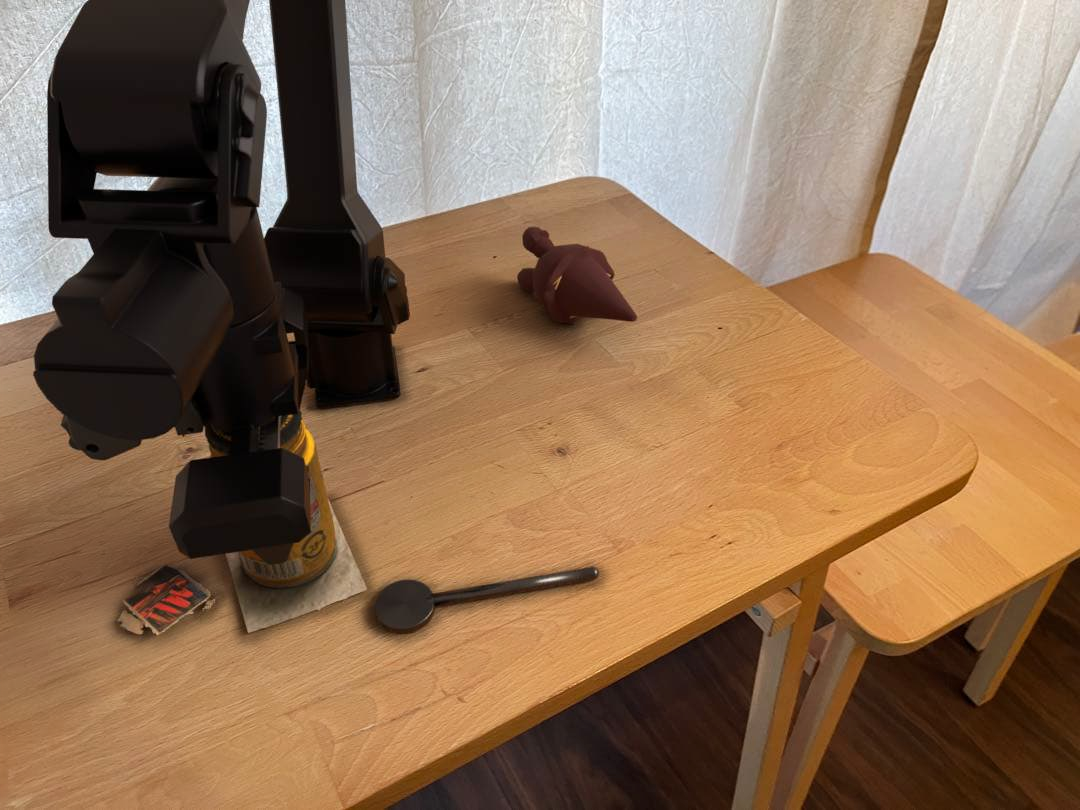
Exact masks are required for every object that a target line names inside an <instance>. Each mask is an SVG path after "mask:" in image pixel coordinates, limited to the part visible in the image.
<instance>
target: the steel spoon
mask: <svg viewBox="0 0 1080 810" xmlns="http://www.w3.org/2000/svg"><path fill="white" fill-rule="evenodd" d="M599 576H600V571H599V569H598V568H597V567H595V566H589V567H588V566H587V567H582V568H576V569H571V570H565V571H560V572H558V571H557V572H553V573H552V572H551V573H547V574H541V575H535V576H529V577H522V578H517V579H510V580H505V581H499V582H494V583H493V582H492V583H486V584H482V585H481V584H480V585H476V586H475V585H474V586H469V587H463V588H457V589H452V590H446V591H439V592H434V593H433V591H432V589H431V587H429V586H428V585H427V584H425V583H423V582H422V581H419V580H415V579H400V580H397V581H394V582H392V583H390V584H388V585H387V586H385V587H384V588H383V589H382V590H381V591H380V592H379V593H378V595H377V597H376V599H375V602H374V612H375V617H376V620H377V622H378V624H379V625H380V626H381V627H382V628H383V629H384V630H386V631H388V632H390V633H394V634H400V635H403V634H412V633H414V632H417V631H420V630H421V629H422V628H424V627H425V626H426V625H427V624H429V623H430V621H431V620H432V619H433V617H434V615H435V612H436V607H442V606H448V605H449V606H450V605H453V604H454V605H455V604H460V603H466V602H472V601H476V600H477V601H478V600H484V599H489V598H494V597H495V598H496V597H501V596H506V595H512V594H519V593H526V592H529V591H530V592H531V591H537V590H542V589H548V588H553V587H559V586H565V585H571V584H577V583H582V582H583V583H584V582H589V581H594V580H595V581H596V580H597V579H598V578H599Z"/></svg>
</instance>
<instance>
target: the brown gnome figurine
mask: <svg viewBox="0 0 1080 810" xmlns="http://www.w3.org/2000/svg"><path fill="white" fill-rule="evenodd" d="M521 238H522V246H523V247H524V249H525V250H527V251H528V252H529V253H531V254H533V255H534V256H535V257H536V258H537V262H536V264H535V267H523V268H522V269H521V270H520V271H519V272H518V273H517V276H516V278H517V283H518V285H519V286H521V287H522V288H523V289H524V290H526V291H527V292H530V293H534V296H535V299H536V301H537V302H538V304H540V305H541V307H543V308H544V309H545V310H546V311H547V312H548V313H549V316H550V318H551V320H553V321H555V322H560V323H565V324H570V325H575V324H577V323H578V322H580V321H581V320H582V319H585V318H589V319H600V320H601V319H602V320H612V321H621V322H636V321H637V319H638V315H637V314H636V312H635V310H634V309H633V307H632V306H631V305H630V303H629V302H628V301H627V300H626V298H625V297H624V295H623V293H622V292H621V291H620V289H619V288H618V287H617V286H616V284H615V283H614V281H613V279H614V277H615V271H614V269H613V268H612V266H611V265H610V263H609V262H608V259H607V256H606V255H605V253H604V252H603V251H602V250H599V249H595V248H592V247H590V246H588V245H584V244H580V243H568V244H560V245H555V244H554V242H553V241H552V240H551V238H550V233H549V231H547V230H546V229H541V228H540V227H539V226H528V227H526V229H525V230H524V231H523V233H522V235H521Z"/></svg>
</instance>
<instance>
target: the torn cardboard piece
mask: <svg viewBox="0 0 1080 810" xmlns="http://www.w3.org/2000/svg"><path fill="white" fill-rule="evenodd" d="M202 584H203V583H199V582H197V581H196V580H195V579H193V578H191V576H190V575H189V574H188V573H187V571H185V570H183V569H181V568H176V567H172V566H170V565H167V564H166V563H165V564H163V565H162V566H160V567H158V568H157V569H156V570H154V571H152V573H149V575H148V576H146V577H144V578H143V579H142V580H141V581H140V582H138V583H135V587H134V588H133V589H132V591H131V592H130V593H129V594H128V596H126V598H124V600H123V601H122V603H124V605H125V606H126V607H127V608H128V610H129V611H130V612H132V613H130V612H129V613H128V610H127V609H124V610H123V612H122V613H121V614H120V616H119V618H118V619H117V622H120V623H121V624H119V627H122V629H123V630H125V629H126V630H127V631H128V632H131V633H134V634H136V635H139V636H140V635H142V634H143V633H144V632H145V630H143V629H144V627H146V628H150V629H151V631H152V633H153V634H156V636H159V635H161V634H162V633H165V632H166V630H168V629H170V628H171V626H174V625H175V624H176V623H178V622H179V621H180V620H181V619H183V617H186V616H187V615H193V614H194V610H195V609H196V608H197V607H198V606H199V605H202V604H203V603H205V602H206V603H205V605H204V606H203V608H202V610H209V609H211V607H212V606H213V605H214V604H215V602H216V601H217V600H218V598H220V595H218V596H215V597H214V598H212V599H210V600H208V599H209V598H210V597H211V591H210V590H209V589H207V588H205V587H204V586H202ZM134 615H135V616H136V617H135V616H134ZM137 617H138V618H137Z"/></svg>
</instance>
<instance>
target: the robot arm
mask: <svg viewBox="0 0 1080 810" xmlns="http://www.w3.org/2000/svg"><path fill="white" fill-rule="evenodd" d="M250 2H251V0H87V1H85V2H84V3H83V5H82V6H81V7H80V10H79V11H78V13H77V16H76V17H75V19H74V21H73V22H72V25H71V27H70V28H69V30H68V32H67V34H66V35H65V37H64V39H63V41H62V43H61V45H60V47H59V48H58V50H57V52H56V54H55V57H54V59H53V64H52V69H51V72H50V74H49V78H48V80H47V90H46V91H47V92H46V100H47V101H46V111H47V112H46V113H47V114H46V116H47V119H46V121H47V122H46V123H47V126H46V128H47V204H48V205H47V219H48V220H47V222H48V223H47V224H48V225H47V226H48V232H49V234H50V236H51V237H52V238H55V239H76V240H77V239H79V240H80V239H81V240H87V242H88V244H89V246H90V249H91V251H92V253H93V254H92V255H91V257H90V258H89V259H88V260H87V261H86V263H85V264H84V265H83V266H82V267H81V269H80V270H79V271H78V272H77V273H75V274H73V275H72V276H70V277H69V278H67V279H66V280H65V281H64V283H63V284H62V285H61V286H60V287H59V288H58V290H57V291H56V292H54V294H53V295H52V296H51V297H52V298H51V307H52V308H53V310H54V312H55V314H56V317H57V319H56V321H55V322H54V323H53V324H52V325H51V327H49V329H48V330H47V331H46V333H45V334H44V335H43V337H42V338H41V339H40V340H39V342H38V343H37V344H36V348H35V351H34V354H33V362H34V363H33V364H34V371H33V372H32V376H33V378H34V381H35V383H36V385H37V387H38V388H39V390H40V392H41V393H42V395H44V397H45V398H46V400H47V401H48V402H49V403H50V404H51V405H52V406H54V408H55V409H56V410H57V411H59V412H60V414H62V415H63V416H62V419H61V422H60V426H61V428H62V429H64V430H65V431H66V432H67V434H68V436H69V438H68V446H69V447H70V448H71V449H73V450H76V451H81V452H82V453H83V454H84V455H86V457H88V458H90V460H91V459H92V460H96V461H108V460H110V459H112V458H115V457H118V456H120V455H122V454H125V453H127V452H129V451H131V450H134V449H136V448H138V447H140V446H141V444H142V441H143V440H151V439H155V438H158V437H160V436H163V435H166V434H167V433H169V432H170V431H171V430H173V428H174V429H175V432H176V434H177V436H178V437H179V436H186V435H193V434H201V433H203V431H204V429H205V427H204V426H209V425H211V426H212V429H214V430H217V431H223V432H231V442H230V455H226V456H218V457H211V458H210V457H204V458H196V459H190V460H189V461H188V462H187V463H186V465H185V466H183V468H182V469H180V471H179V472H178V473H177V474H176V475H175V481H174V487H173V495H172V501H171V508H170V515H169V521H168V529H169V531H170V534H171V536H172V538H173V540H174V543H175V545H176V547H177V550H178V552H179V553H180V554H181V555H183V556H184V557H186V558H188V559H190V560H194V559H195V560H196V559H201V558H207V557H214V556H220V555H226V554H228V553H234V552H241V551H247V550H252V551H253V552H254V553H255V554H256V555H258V556H259V557H260V558H261V559H262V560H263V561H264V562H265V563H266V564H268V565H273V564H280V563H285V562H287V560H288V557H289V555H290V552H291V550H292V547H293V545H294V543H299V542H300V541H302V540H303V539H304V538H305V537H306V536H307V535H308V534H309V533H310V532H311V502H310V478H308V472H307V468H306V464H305V460H304V458H303V457H300V456H298V455H296V454H294V453H292V452H290V451H288V450H286V449H283V448H280V424H281V416H286V415H293V414H298V406H299V409H300V410H301V406H302V402H303V397H304V393H305V388H306V384H307V387H308V388H309V389H310V390H313V389H314V402H315V406H316V408H318V409H327V408H328V409H329V408H334V407H335V408H336V407H342V406H350V405H351V406H352V405H357V404H358V405H359V404H365V403H373V402H380V401H388V400H394V399H398V398H400V397H401V396H402V392H401V391H402V390H401V385H400V377H399V371H398V370H399V369H398V363H397V355H396V348H395V346H394V345H393V338H392V335H395V334H396V331H397V328H398V326H399V325H402V324H403V323H405V322H407V321H409V320H410V316H411V312H410V311H411V310H410V303H409V297H408V287H407V286H406V275H405V272H404V271H403V270H402V269H401V268H400V267H399V266H398V265H397V264H396V263H395V262H394V261H393V260H392V258H390V257H387V256H386V250H385V249H386V248H385V239H384V238H385V237H384V230H383V228H382V226H381V224H380V223H379V221H378V220H377V218H376V216H374V214H373V212H372V211H371V209H370V208H369V206H368V205H367V204H366V202H365V201H364V199H363V197H362V196H361V194H360V193H359V190H358V182H357V180H358V178H357V167H356V166H357V165H356V164H357V163H356V149H355V148H356V147H355V134H354V117H353V103H352V102H353V101H352V100H353V99H352V86H351V85H352V83H351V68H350V55H349V54H350V53H349V40H348V39H349V38H348V36H349V35H348V21H347V6H346V0H268V5H269V14H270V15H269V16H270V24H271V35H272V36H271V37H272V47H273V57H274V66H275V67H274V69H275V78H276V87H277V99H278V108H279V109H278V110H279V121H280V130H281V142H282V143H281V144H282V152H283V164H284V173H285V175H284V176H285V184H286V201H285V202H284V204H283V206H282V208H281V210H280V213H279V214H278V216H277V217H276V220H275V221H274V223H273V226H271V227H268V228H267V229H266V230H267V231H266V232H265V235H264V232H263V229H262V228H263V227H262V224H261V220H260V216H259V212H258V208H260V205H261V204H260V203H261V193H262V182H263V181H262V179H263V168H264V155H265V146H266V145H265V144H266V131H267V120H268V107H267V103H266V99H265V97H264V96H263V94H262V93H261V90H262V80H261V78H260V76H259V75H260V74H259V73H258V71H257V69H256V67H255V64H254V63H253V60H252V58H251V56H250V54H249V51H248V49H247V47H246V45H245V43H244V33H245V25H246V20H247V14H248V11H249V6H250ZM98 174H99V175H103V176H106V177H131V178H132V177H133V178H134V177H135V178H136V177H137V178H157V179H155V181H154V182H153V183H152V184H150V186H149V187H148V188H147V189H146V190H141V189H112V188H111V189H109V188H107V189H106V188H95V185H96V180H97V175H98ZM288 334H293V337H294V340H290V341H289V338H288ZM259 427H260V429H261V430H260V435H259V437H260V441H259V443H260V446H259V449H260V451H258V431H259Z"/></svg>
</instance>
